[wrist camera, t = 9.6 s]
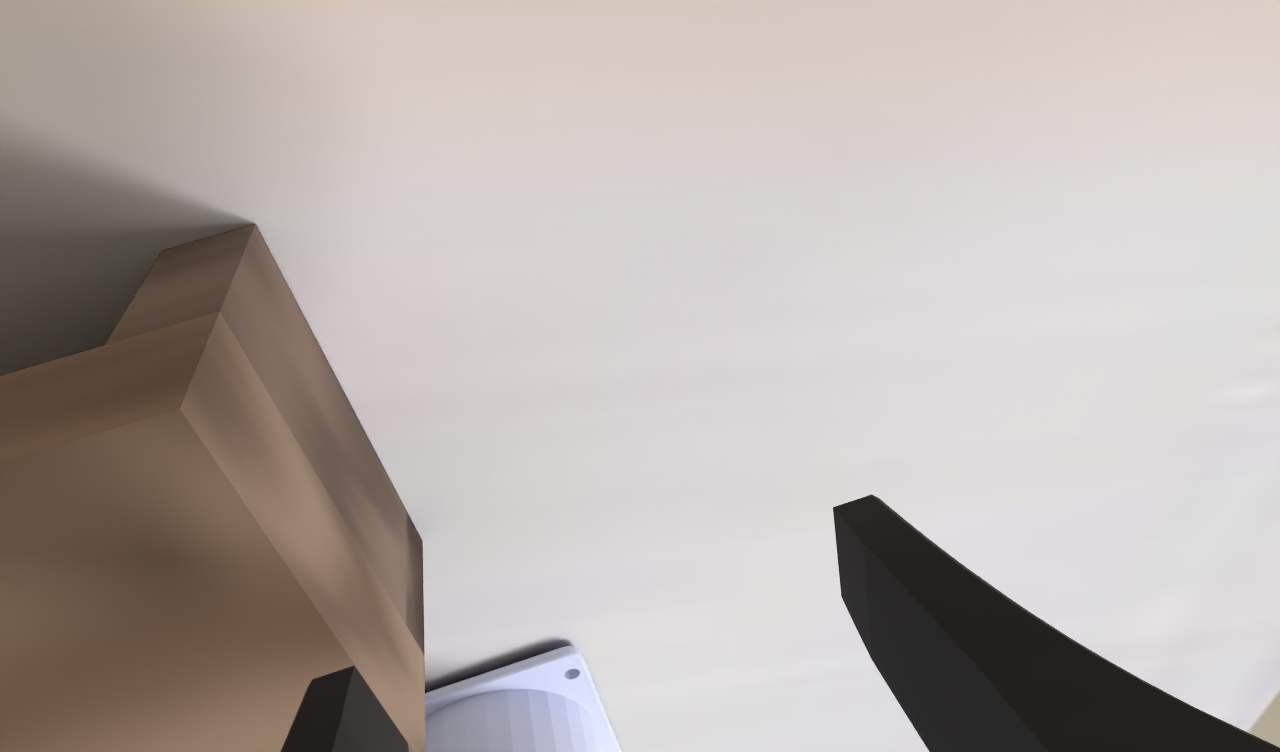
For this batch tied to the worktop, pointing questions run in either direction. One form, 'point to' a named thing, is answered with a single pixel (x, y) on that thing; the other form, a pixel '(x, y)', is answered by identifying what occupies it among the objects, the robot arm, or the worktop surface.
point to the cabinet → (197, 527)
